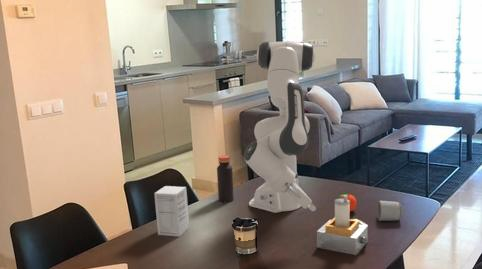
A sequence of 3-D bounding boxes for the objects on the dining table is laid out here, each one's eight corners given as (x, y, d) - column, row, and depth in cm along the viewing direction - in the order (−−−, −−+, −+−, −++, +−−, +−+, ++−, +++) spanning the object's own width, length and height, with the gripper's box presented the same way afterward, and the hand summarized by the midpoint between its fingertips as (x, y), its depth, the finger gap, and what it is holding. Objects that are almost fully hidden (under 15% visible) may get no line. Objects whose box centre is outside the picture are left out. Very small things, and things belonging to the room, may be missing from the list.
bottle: (236, 198, 237) (234, 155, 233) (228, 203, 231) (226, 159, 227) (224, 196, 241) (221, 154, 236) (215, 201, 235) (213, 157, 231)
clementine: (335, 212, 215) (335, 196, 213) (338, 207, 221) (338, 190, 219) (355, 214, 212) (355, 198, 210) (358, 208, 218) (358, 192, 216)
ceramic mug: (402, 223, 201) (402, 204, 200) (380, 223, 202) (380, 204, 200) (396, 213, 211) (396, 195, 210) (375, 214, 212) (375, 195, 211)
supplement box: (190, 228, 206) (187, 186, 202) (180, 237, 197) (176, 194, 194) (168, 225, 209) (165, 185, 205) (157, 235, 200) (153, 192, 197)
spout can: (332, 229, 182) (332, 196, 180) (338, 224, 187) (337, 192, 184) (346, 232, 180) (346, 198, 177) (351, 227, 184) (351, 194, 181)
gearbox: (317, 247, 183) (316, 225, 181) (330, 235, 193) (329, 214, 191) (359, 255, 175) (359, 233, 174) (370, 242, 185) (371, 220, 184)
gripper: (297, 182, 168) (326, 208, 172) (281, 164, 188) (307, 188, 191) (283, 196, 168) (313, 222, 172) (269, 177, 188) (295, 201, 192)
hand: (310, 204), depth 182 cm, fingers open, 8 cm apart
